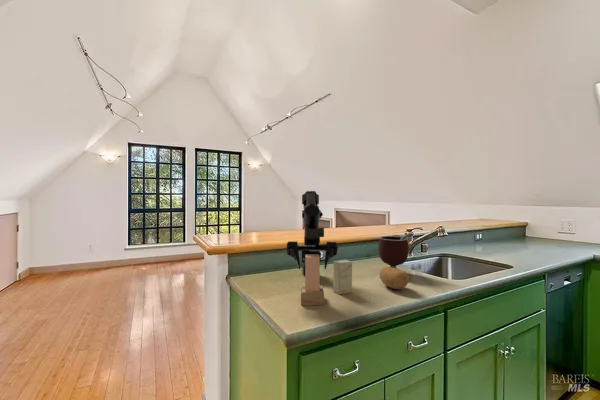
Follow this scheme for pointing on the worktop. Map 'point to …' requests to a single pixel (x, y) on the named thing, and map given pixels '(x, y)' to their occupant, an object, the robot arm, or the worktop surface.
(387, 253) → the mate gourd
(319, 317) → the worktop surface
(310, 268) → the block
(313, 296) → the plinth
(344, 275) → the skincare box
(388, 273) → the potato
